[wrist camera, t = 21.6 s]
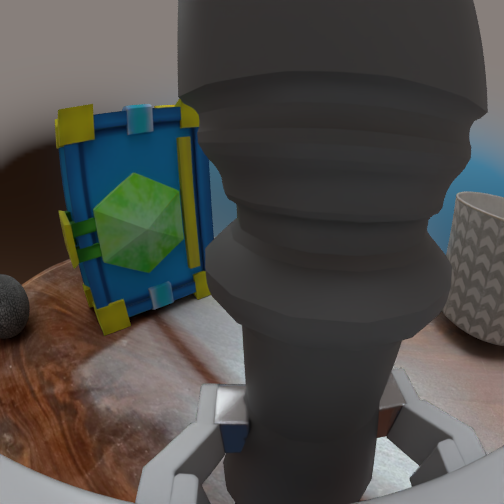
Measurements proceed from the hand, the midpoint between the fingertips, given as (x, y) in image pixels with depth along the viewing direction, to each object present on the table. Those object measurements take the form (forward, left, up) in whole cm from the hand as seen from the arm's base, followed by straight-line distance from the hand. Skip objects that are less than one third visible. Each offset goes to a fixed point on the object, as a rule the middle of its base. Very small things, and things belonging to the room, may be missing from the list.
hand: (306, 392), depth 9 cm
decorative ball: (-6, +45, -17) cm, 49 cm away
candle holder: (-1, -1, -14) cm, 14 cm away
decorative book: (+17, +33, -17) cm, 41 cm away
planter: (+36, -16, -17) cm, 43 cm away
